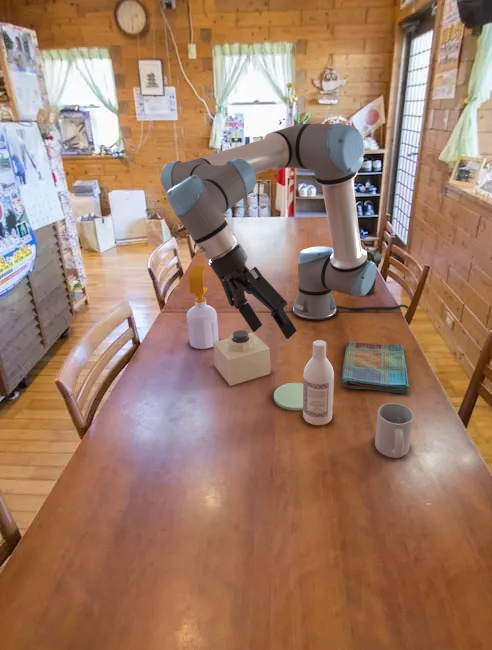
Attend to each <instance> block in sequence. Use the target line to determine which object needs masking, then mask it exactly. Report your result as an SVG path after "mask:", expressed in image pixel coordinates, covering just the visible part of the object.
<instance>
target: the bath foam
mask: <svg viewBox="0 0 492 650" xmlns="http://www.w3.org/2000/svg"><path fill="white" fill-rule="evenodd" d="M302 383H303V410H302V417H303V419H304V421H305V422H306V423H308V424H311V425H312V426H324V425H327V424H328V423H330V422H331V421H332V420H333V411H334V392H335V391H334V390H335V389H334V388H335V372H334V368H333V365H332V364H331V362H330V360H329V359H328V358H327V342H326V341H325V340H323V339H317V340H314V341H313V342H312V356H311V358H310V359H309V360H308V362H306V365H305V367H304V370H303V377H302Z"/></svg>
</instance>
